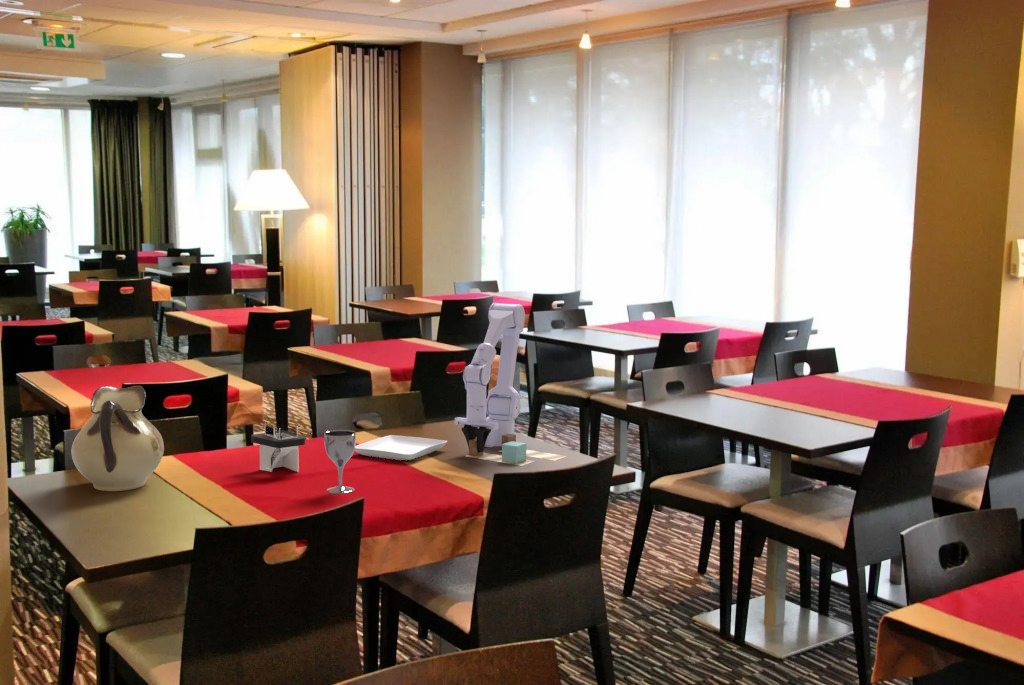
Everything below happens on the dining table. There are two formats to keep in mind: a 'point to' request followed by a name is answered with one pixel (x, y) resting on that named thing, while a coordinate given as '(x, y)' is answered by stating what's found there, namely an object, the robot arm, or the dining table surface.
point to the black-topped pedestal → (278, 448)
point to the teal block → (514, 452)
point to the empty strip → (531, 453)
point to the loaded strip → (488, 456)
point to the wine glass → (340, 453)
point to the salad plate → (399, 447)
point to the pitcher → (117, 441)
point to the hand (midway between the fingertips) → (476, 451)
